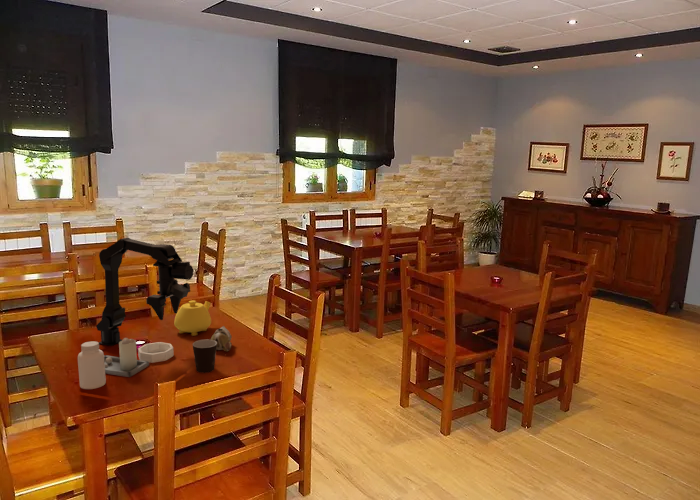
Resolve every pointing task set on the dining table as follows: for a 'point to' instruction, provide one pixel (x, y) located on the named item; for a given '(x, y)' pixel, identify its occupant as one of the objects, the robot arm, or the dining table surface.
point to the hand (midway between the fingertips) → (168, 316)
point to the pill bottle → (91, 366)
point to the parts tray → (114, 366)
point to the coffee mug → (204, 355)
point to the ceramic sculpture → (222, 339)
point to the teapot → (193, 317)
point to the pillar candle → (127, 354)
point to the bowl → (155, 352)
